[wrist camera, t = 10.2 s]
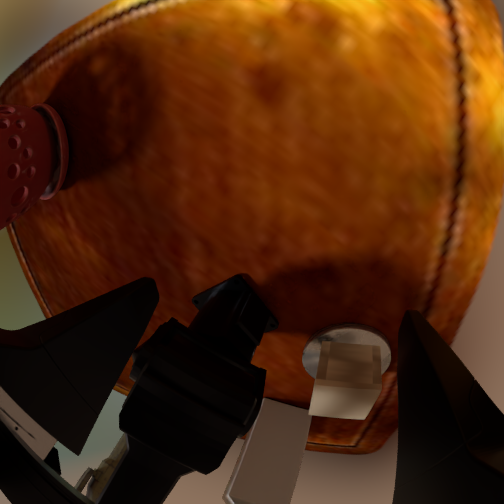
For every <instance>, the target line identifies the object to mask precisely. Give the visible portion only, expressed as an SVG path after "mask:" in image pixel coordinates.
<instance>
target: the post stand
mask: <svg viewBox="0 0 504 504" xmlns="http://www.w3.org/2000/svg"><path fill="white" fill-rule="evenodd" d="M322 341H329V342H339V343H350V344H362V345H375V346H380V350H381V375H382V374H383V373H384V372H385V371H386V370H387V368H388V366H389V364H390V361H391V350H390V344H389V341H388V340H387V338H386V337H385V336H384V335H383V334H382V333H381V332H380V331H378V330H376V329H375V328H372V327H370V326H367V325H363V324H356V323H343V324H336V325H332V326H329V327H326V328H323V329H321V330H319V331H318V332H316V333H315V334H313V335H312V336H311V337H310V338H309V340H308V341H307V343H306V345H305V348H304V352H303V358H302V361H303V365H304V368H305V370H306V371H307V372H308V373H309V374H310V375H311V376H312V377H313V378H316V372H317V367H318V362H319V356H320V350H321V344H322Z"/></svg>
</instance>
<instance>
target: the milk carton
mask: <svg viewBox="0 0 504 504" xmlns="http://www.w3.org/2000/svg"><path fill="white" fill-rule="evenodd" d="M308 413H309V410H305V409H302V408H298V407H294V406H291V405H287V404H284V403H280V402H277V401H274V400H270V399H267V398H263V400H262V405H261V409H260V412H259V414H258V416H257V419H256V420H255V422H254V424H253V425H252V427H251V428H250V430H249V431H248V433H247V436H246V439H245V442H244V444H243V447H242V449H241V452H240V455H239V457H238V460H237V462H236V465H235V467H234V470H233V473H232V475H231V477H230V480H229V482H228V485H227V487H226V490H225V492H224V494H223V497H222V498H223V500H224V502H225V503H226V504H290V502H291V498H292V495H293V491H294V488H295V484H296V481H297V477H298V473H299V470H300V466H301V462H302V458H303V454H304V450H305V446H306V442H307V437H308V433H309V428H310V424H311V419H312V415H308Z"/></svg>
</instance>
